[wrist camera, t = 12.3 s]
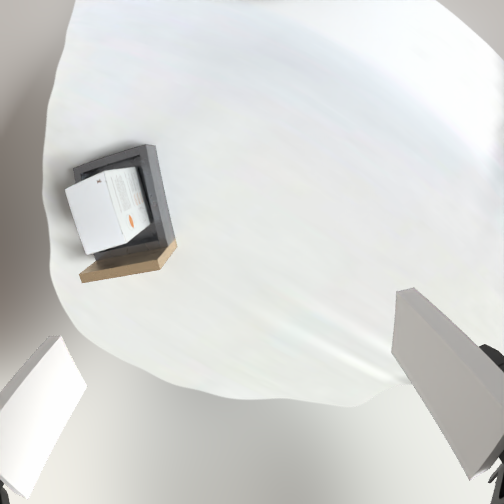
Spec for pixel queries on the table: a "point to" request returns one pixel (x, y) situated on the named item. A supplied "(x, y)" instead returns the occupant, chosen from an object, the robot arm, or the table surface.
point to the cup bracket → (148, 240)
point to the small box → (109, 208)
